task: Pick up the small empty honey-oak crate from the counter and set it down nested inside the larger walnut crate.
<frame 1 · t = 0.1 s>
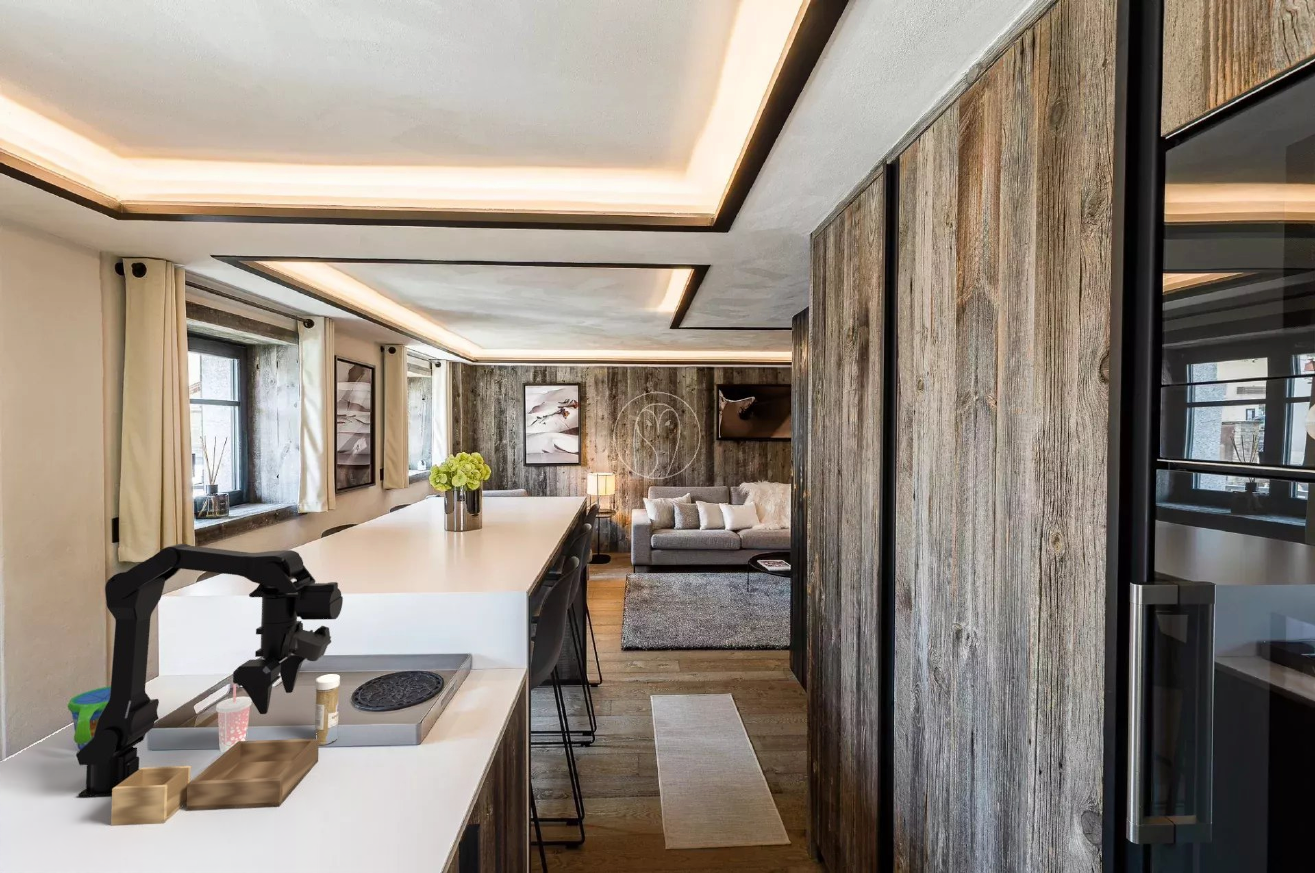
hand: (277, 702, 113), 15 cm above the worktop, tool pointing down, fingers open, 9 cm apart
beverage cup: (233, 746, 125), on the worktop
oak crate: (151, 812, 103), on the worktop
spice jar: (326, 741, 128), on the worktop
snack cup: (102, 744, 125), on the worktop
walnut crate: (257, 783, 111), on the worktop
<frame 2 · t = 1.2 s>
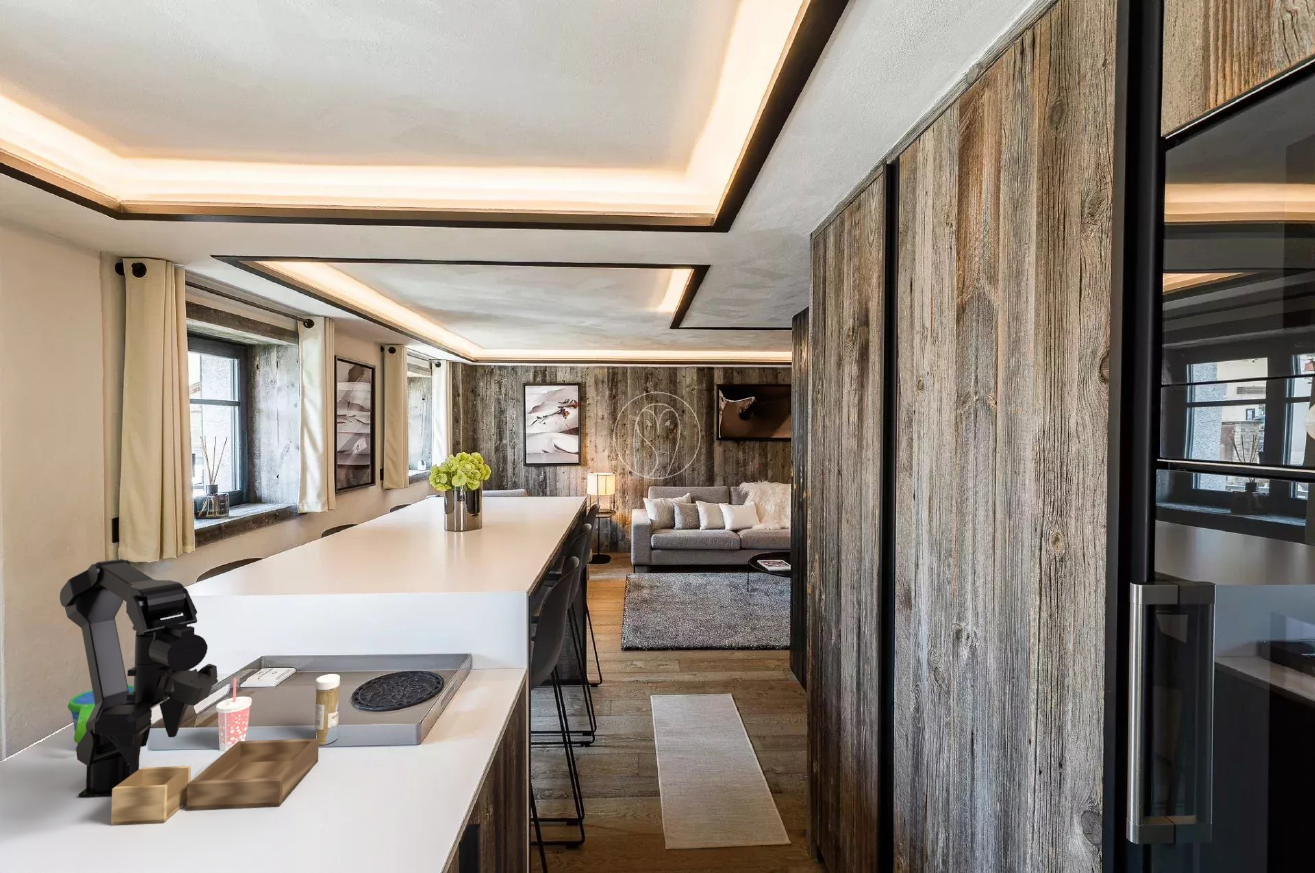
hand: (153, 749, 103), 11 cm above the worktop, tool pointing down, fingers open, 9 cm apart
nothing on the worktop moved.
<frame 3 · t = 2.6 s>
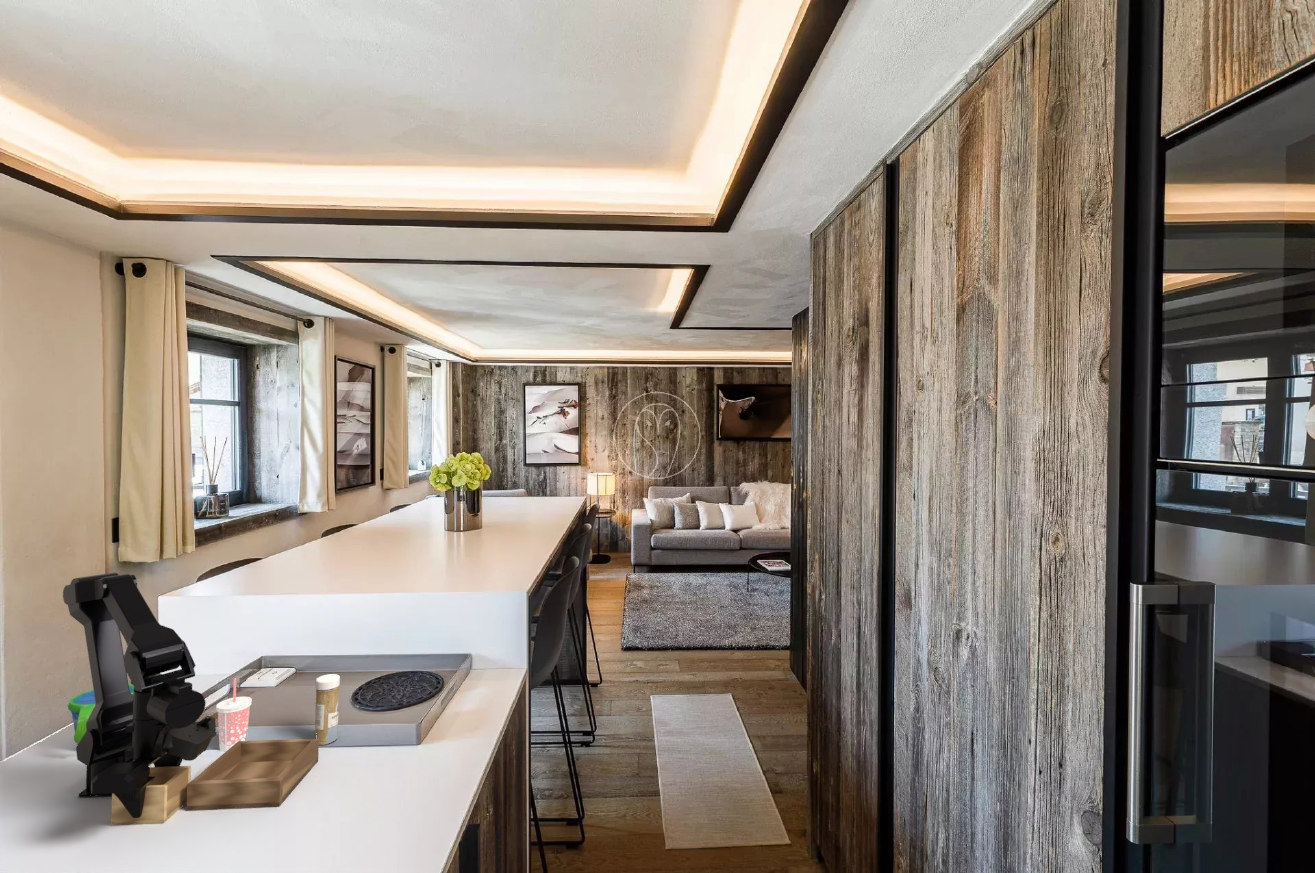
hand: (152, 804, 103), 1 cm above the worktop, tool pointing down, fingers closed on oak crate, 6 cm apart
oak crate: (151, 812, 103), on the worktop, touching gripper
everything else where it was.
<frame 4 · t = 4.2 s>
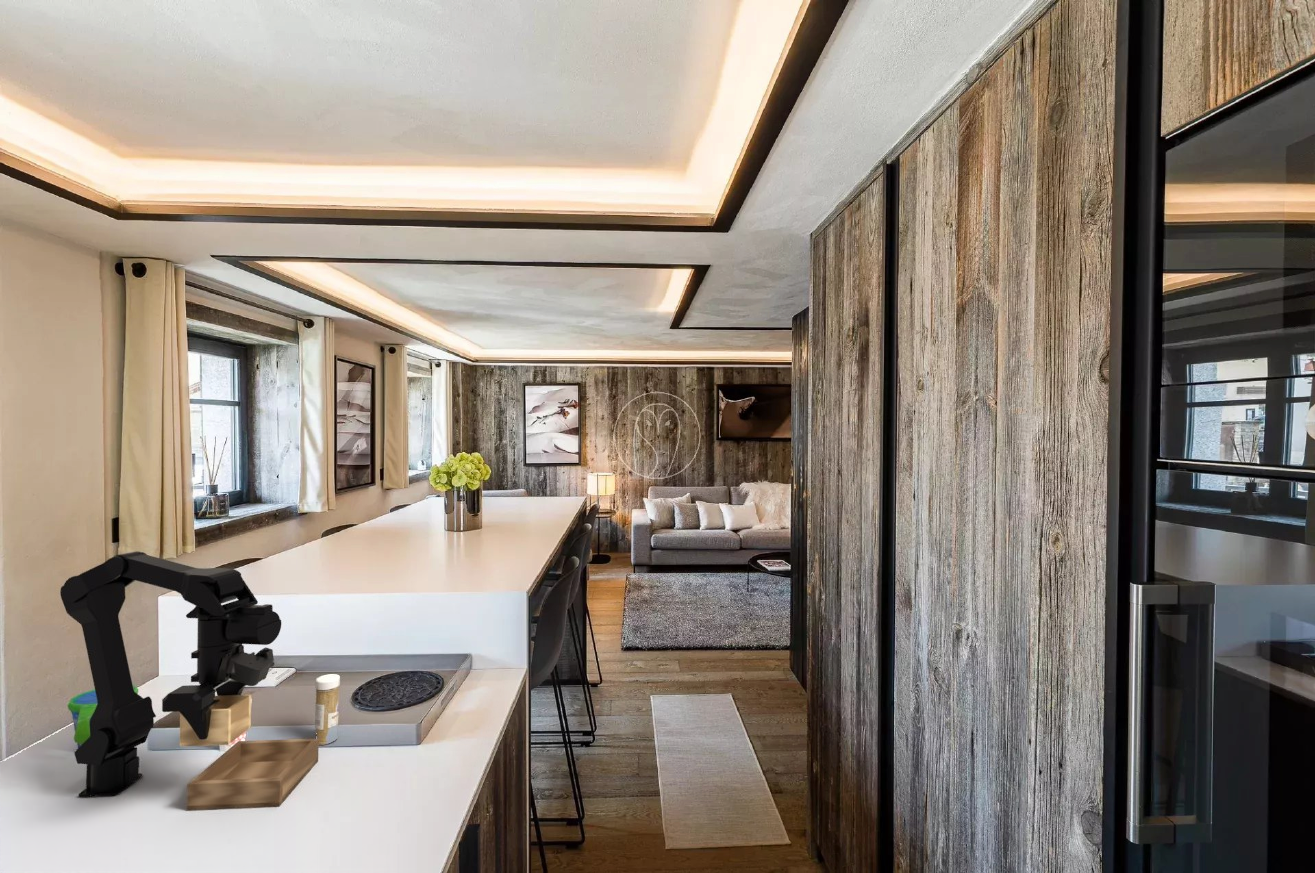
hand: (216, 729, 107), 12 cm above the worktop, tool pointing down, fingers closed on oak crate, 6 cm apart
oak crate: (216, 736, 107), point 11 cm above the worktop, touching gripper
everything else where it was.
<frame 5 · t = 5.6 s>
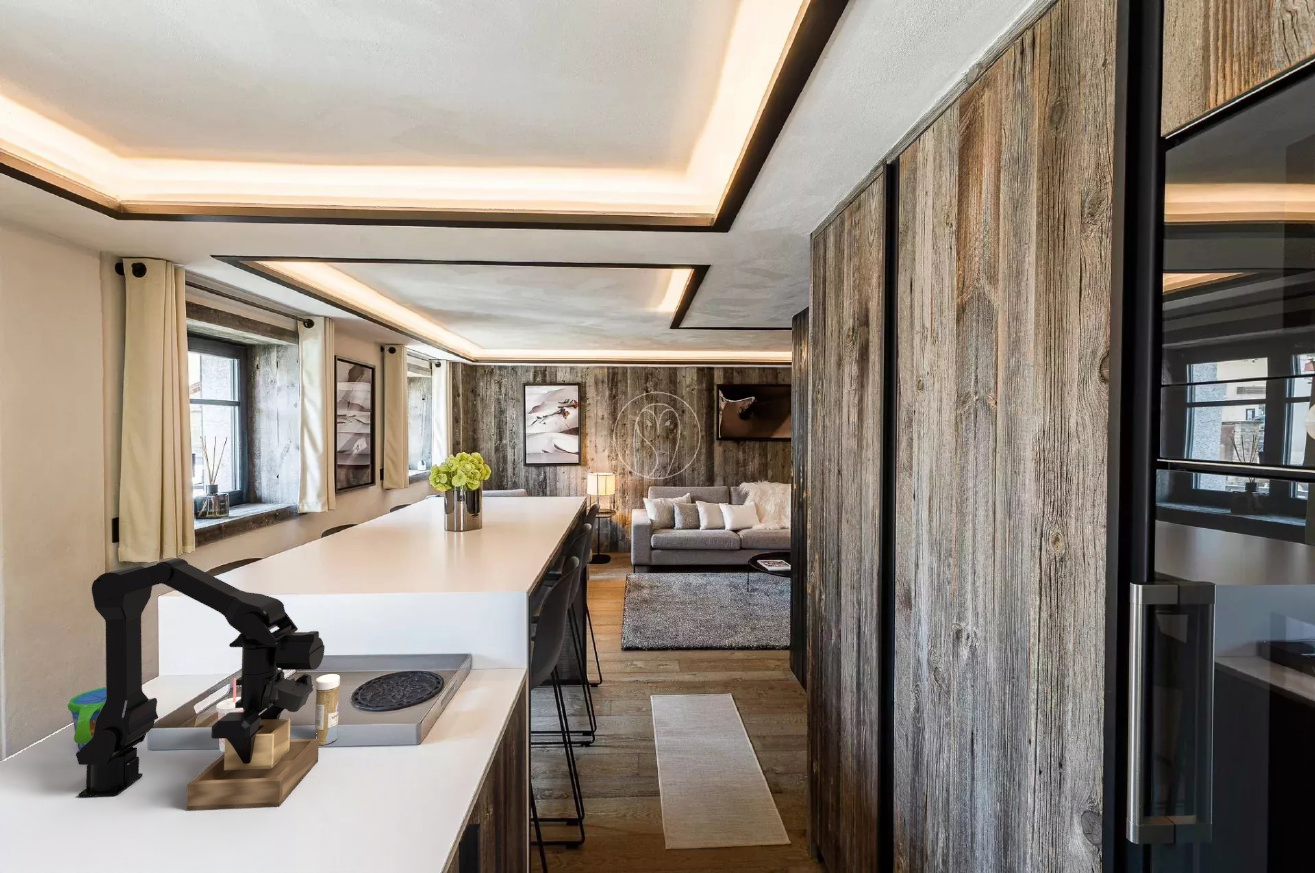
hand: (257, 753, 112), 6 cm above the worktop, tool pointing down, fingers closed on oak crate, 6 cm apart
oak crate: (257, 759, 112), point 4 cm above the worktop, touching gripper
everything else where it was.
when the fingers open (5 cm above the worktop, at t = 6.3 s): oak crate drops 3 cm, resting on walnut crate.
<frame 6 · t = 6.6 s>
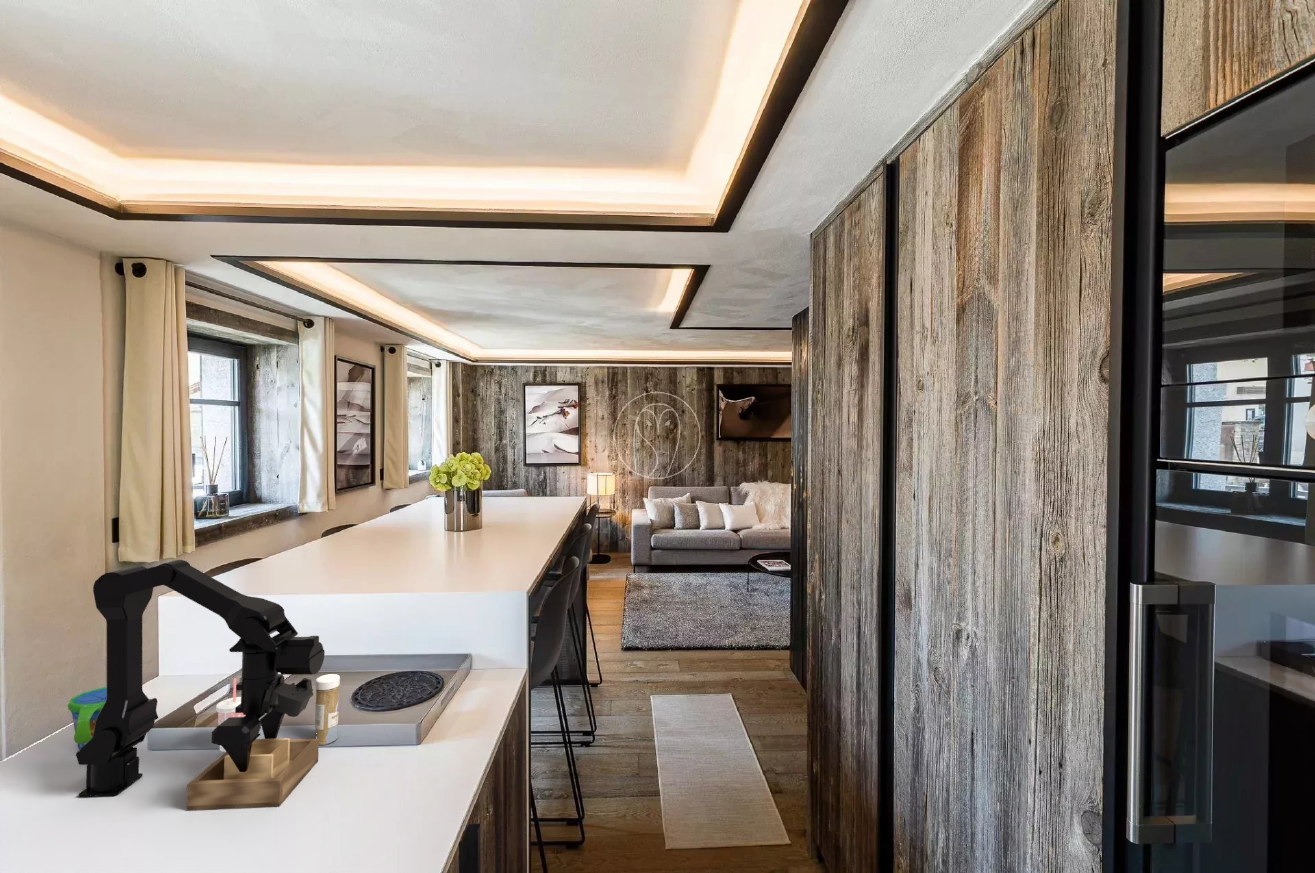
hand: (257, 758, 112), 5 cm above the worktop, tool pointing down, fingers open, 9 cm apart
oak crate: (257, 779, 111), point 1 cm above the worktop, touching walnut crate
everything else where it was.
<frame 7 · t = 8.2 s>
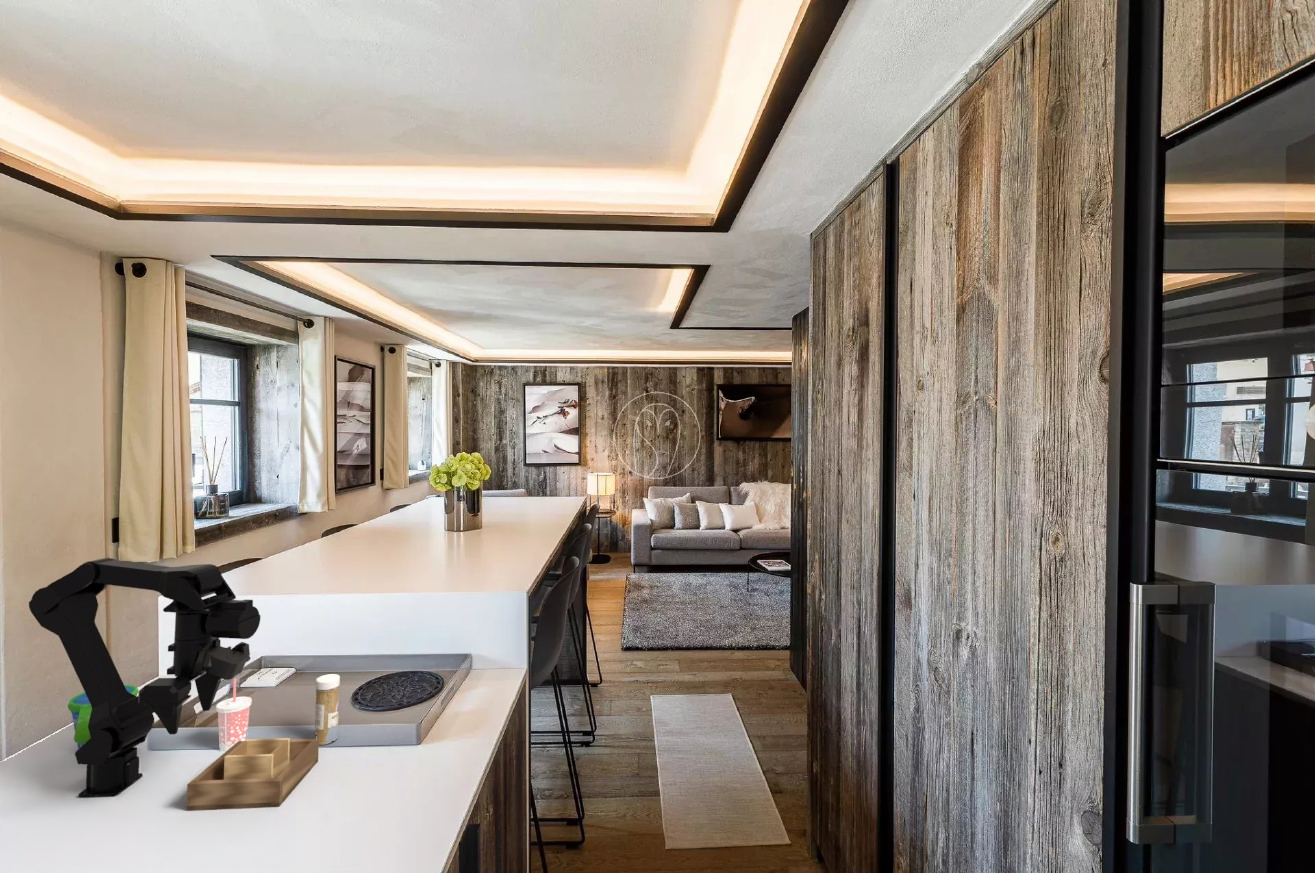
hand: (190, 721, 109), 12 cm above the worktop, tool pointing down, fingers open, 9 cm apart
nothing on the worktop moved.
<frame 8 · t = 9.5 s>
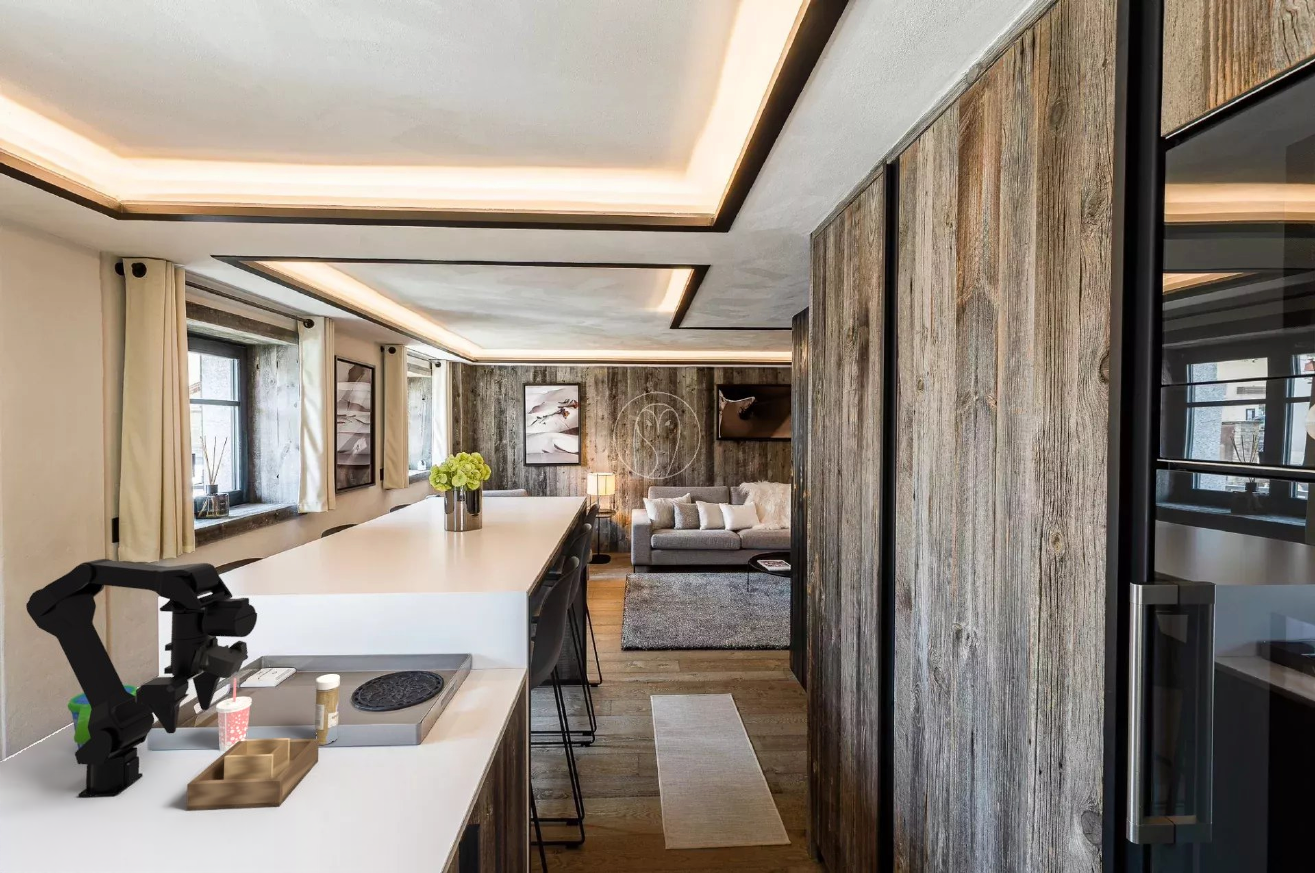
hand: (188, 720, 109), 13 cm above the worktop, tool pointing down, fingers open, 9 cm apart
nothing on the worktop moved.
at the end: oak crate inside the target area on the walnut crate (0.0 cm from its centre), point 0.8 cm above the walnut crate's base; oak crate tilted 0°; the gripper is holding nothing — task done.
